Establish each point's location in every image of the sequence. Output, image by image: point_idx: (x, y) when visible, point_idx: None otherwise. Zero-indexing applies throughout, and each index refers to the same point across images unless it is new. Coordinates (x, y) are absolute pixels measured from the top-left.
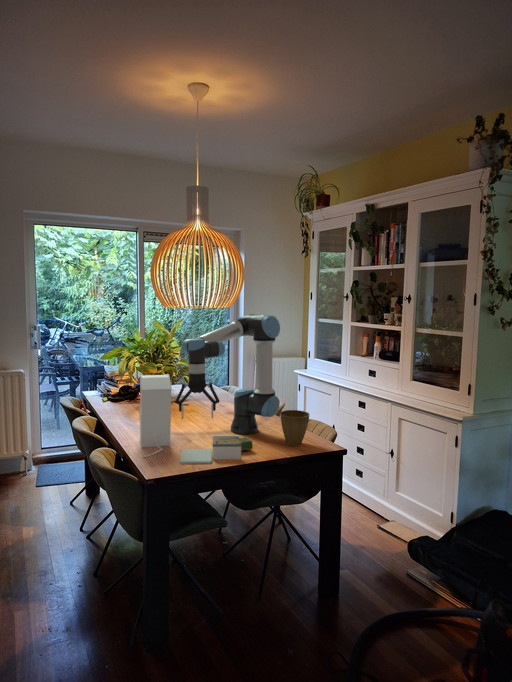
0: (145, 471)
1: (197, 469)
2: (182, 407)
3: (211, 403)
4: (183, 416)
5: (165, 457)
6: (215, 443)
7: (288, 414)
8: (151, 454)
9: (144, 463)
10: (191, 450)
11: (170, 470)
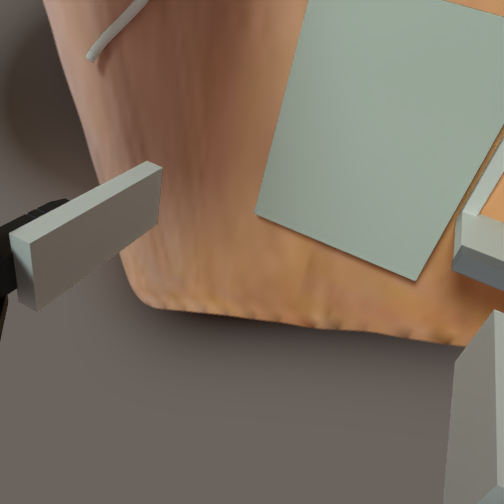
0: None
1: (319, 310)
2: (56, 289)
3: (489, 493)
4: (149, 197)
5: (202, 75)
6: (481, 264)
7: None
8: (126, 22)
9: (109, 136)
10: (375, 20)
11: (209, 267)
